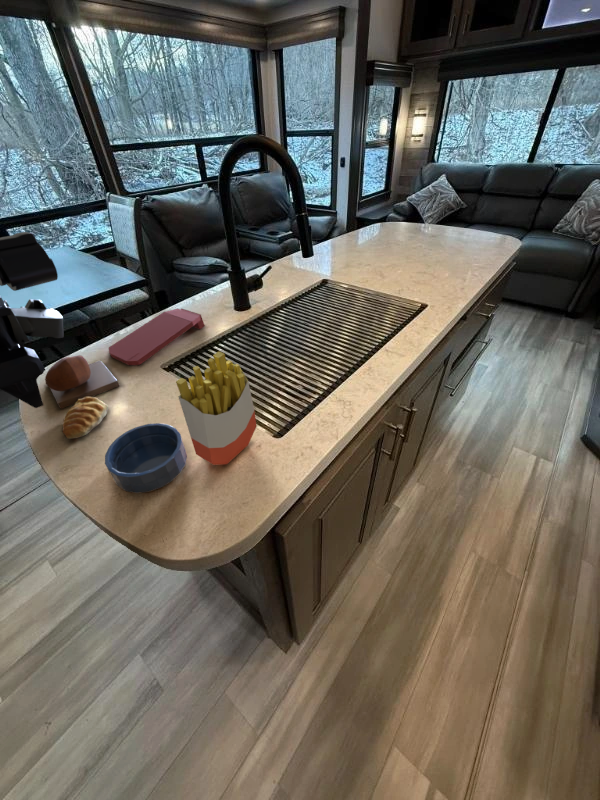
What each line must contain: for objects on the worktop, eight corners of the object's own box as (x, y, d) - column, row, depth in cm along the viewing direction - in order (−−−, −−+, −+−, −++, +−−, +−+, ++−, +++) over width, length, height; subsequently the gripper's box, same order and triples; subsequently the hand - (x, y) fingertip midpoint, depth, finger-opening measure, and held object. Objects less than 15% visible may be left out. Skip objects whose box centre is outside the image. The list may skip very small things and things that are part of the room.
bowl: (130, 508, 51) (119, 490, 48) (105, 464, 58) (95, 446, 55) (199, 467, 57) (194, 449, 54) (169, 431, 64) (163, 414, 61)
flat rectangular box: (61, 409, 69) (57, 403, 68) (48, 384, 76) (45, 379, 76) (119, 386, 76) (117, 380, 75) (103, 365, 83) (100, 360, 82)
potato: (103, 379, 75) (92, 355, 71) (62, 402, 69) (47, 376, 65) (85, 371, 78) (73, 347, 74) (44, 391, 72) (29, 366, 68)
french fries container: (259, 437, 62) (248, 354, 51) (217, 475, 55) (194, 389, 44) (241, 427, 64) (227, 345, 53) (198, 463, 57) (172, 378, 46)
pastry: (92, 440, 62) (84, 425, 60) (55, 442, 62) (45, 427, 59) (111, 408, 69) (104, 393, 67) (78, 410, 69) (70, 395, 67)
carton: (141, 378, 84) (209, 327, 98) (132, 363, 80) (204, 312, 94) (113, 364, 89) (181, 318, 103) (103, 350, 86) (175, 303, 99)
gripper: (59, 304, 43) (103, 398, 53) (30, 272, 54) (71, 355, 64) (-51, 330, 37) (21, 431, 47) (-60, 288, 48) (1, 377, 58)
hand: (33, 393), depth 54 cm, fingers open, 9 cm apart
